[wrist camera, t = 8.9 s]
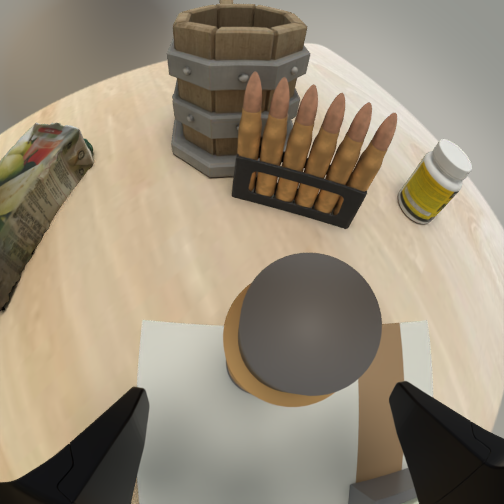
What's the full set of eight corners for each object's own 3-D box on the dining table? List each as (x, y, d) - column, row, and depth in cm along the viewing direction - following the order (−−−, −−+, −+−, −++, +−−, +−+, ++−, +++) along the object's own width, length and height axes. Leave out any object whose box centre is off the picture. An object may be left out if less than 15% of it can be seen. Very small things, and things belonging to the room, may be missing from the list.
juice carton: (53, 145, 27) (36, 111, 22) (103, 156, 27) (87, 115, 21) (-31, 279, 19) (-63, 257, 13) (8, 319, 18) (-34, 299, 12)
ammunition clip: (349, 213, 25) (406, 111, 14) (347, 229, 24) (410, 127, 13) (237, 181, 25) (244, 64, 15) (231, 196, 25) (235, 75, 14)
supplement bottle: (428, 233, 25) (475, 184, 17) (392, 208, 26) (434, 152, 18) (434, 204, 27) (474, 156, 19) (402, 181, 28) (437, 128, 20)
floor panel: (415, 509, 12) (422, 512, 11) (147, 534, 11) (144, 540, 10) (419, 323, 20) (427, 320, 19) (147, 323, 19) (142, 319, 18)
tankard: (303, 175, 26) (346, 33, 13) (170, 182, 25) (142, 29, 12) (270, 78, 35) (283, -12, 22) (183, 81, 34) (177, -12, 20)
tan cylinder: (290, 394, 16) (404, 404, 5) (225, 393, 16) (211, 420, 5) (289, 333, 18) (384, 238, 7) (227, 331, 18) (220, 229, 7)
